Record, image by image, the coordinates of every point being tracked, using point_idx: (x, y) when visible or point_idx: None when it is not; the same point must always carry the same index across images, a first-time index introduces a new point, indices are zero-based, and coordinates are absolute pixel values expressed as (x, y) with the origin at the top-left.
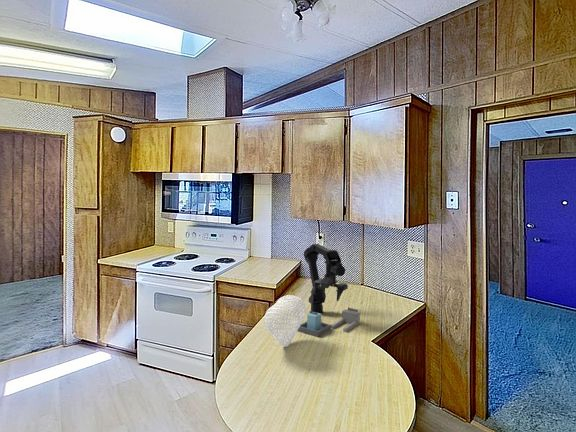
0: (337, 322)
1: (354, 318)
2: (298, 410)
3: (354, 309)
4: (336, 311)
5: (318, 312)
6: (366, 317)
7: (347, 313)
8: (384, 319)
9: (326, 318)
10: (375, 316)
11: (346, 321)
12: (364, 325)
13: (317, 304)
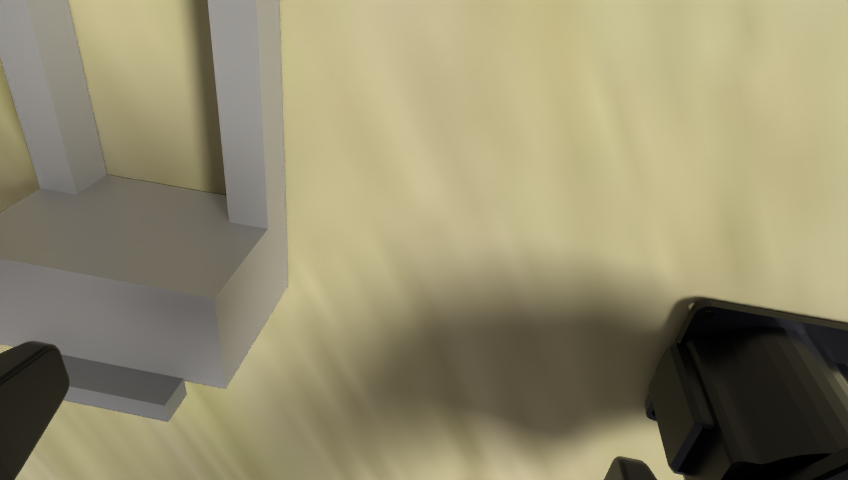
0: (219, 9)
1: (40, 214)
2: None
3: None
4: (495, 466)
5: (707, 344)
6: None
7: (124, 266)
8: None
9: (528, 219)
10: (108, 458)
11: (210, 201)
12: (7, 202)
13: (776, 447)
